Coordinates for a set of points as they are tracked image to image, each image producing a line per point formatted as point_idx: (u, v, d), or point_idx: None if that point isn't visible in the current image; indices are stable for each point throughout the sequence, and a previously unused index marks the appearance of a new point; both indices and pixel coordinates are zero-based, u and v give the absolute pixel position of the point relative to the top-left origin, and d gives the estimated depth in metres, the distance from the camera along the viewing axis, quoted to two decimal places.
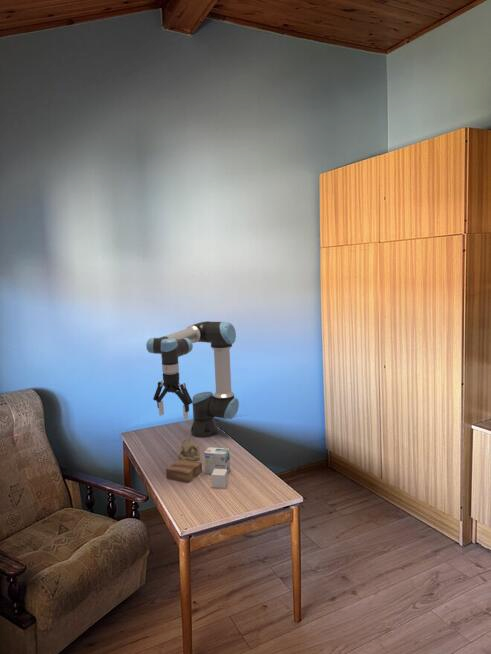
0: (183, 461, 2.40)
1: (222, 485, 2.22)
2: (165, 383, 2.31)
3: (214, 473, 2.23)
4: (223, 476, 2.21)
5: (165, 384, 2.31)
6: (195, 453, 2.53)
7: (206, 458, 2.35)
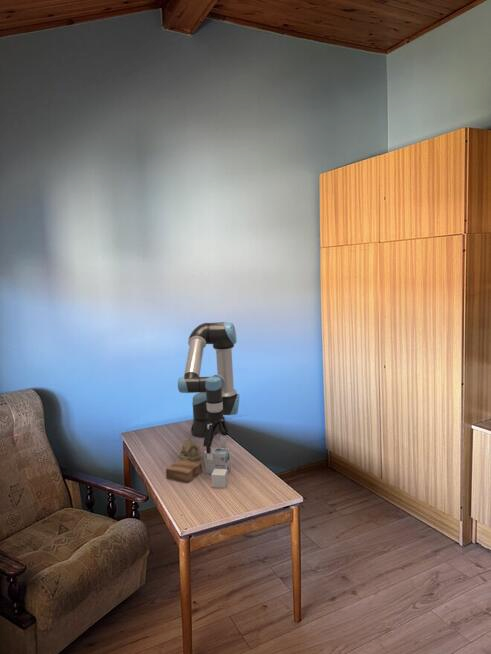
0: (184, 461, 2.40)
1: (222, 485, 2.22)
2: None
3: (214, 473, 2.23)
4: (223, 476, 2.21)
5: None
6: (196, 453, 2.53)
7: (206, 458, 2.35)
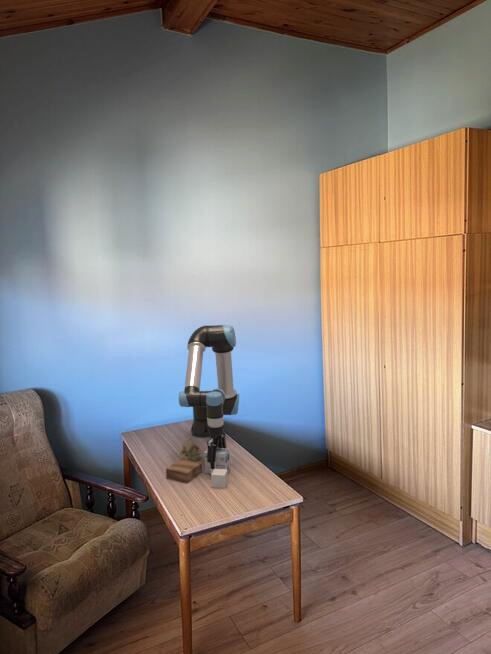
0: (184, 461, 2.40)
1: (222, 485, 2.22)
2: None
3: (214, 473, 2.23)
4: (223, 476, 2.21)
5: None
6: (197, 452, 2.53)
7: (206, 458, 2.35)
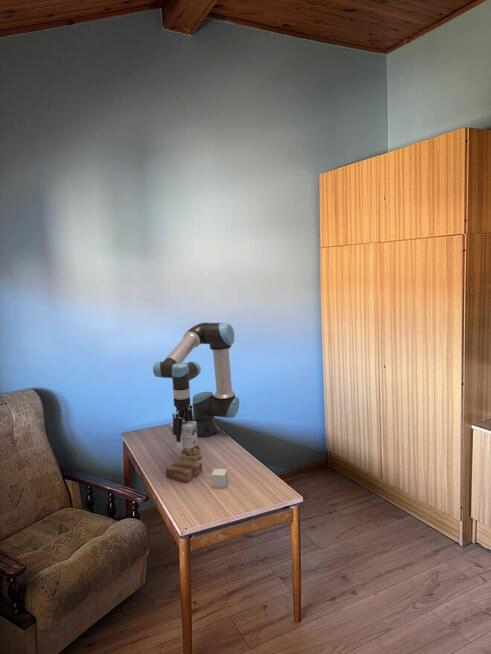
0: (184, 461, 2.40)
1: (222, 485, 2.22)
2: None
3: (214, 473, 2.23)
4: (223, 476, 2.21)
5: None
6: (197, 452, 2.54)
7: (172, 431, 2.30)
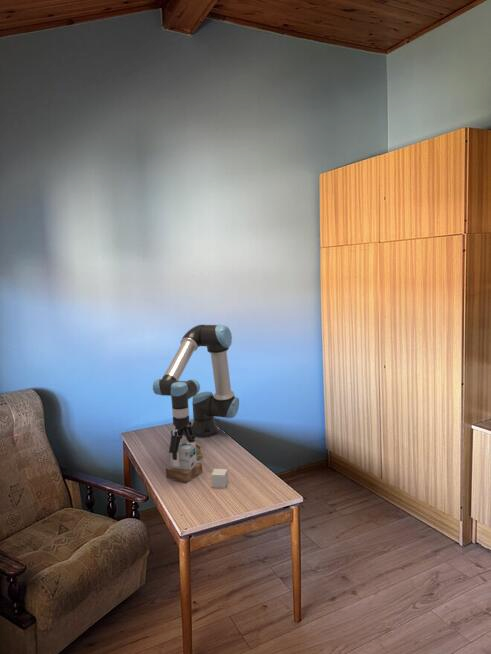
0: None
1: (222, 485, 2.22)
2: None
3: (214, 473, 2.23)
4: (223, 476, 2.21)
5: None
6: (198, 451, 2.54)
7: None
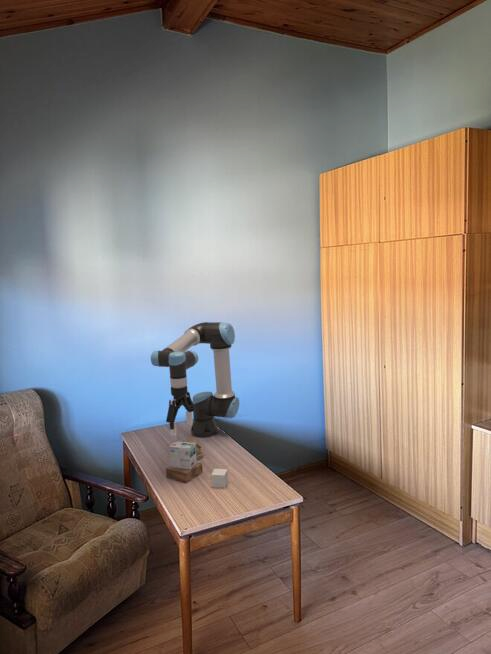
0: None
1: (222, 485, 2.22)
2: None
3: (214, 473, 2.23)
4: (223, 476, 2.21)
5: None
6: (199, 451, 2.55)
7: (171, 452, 2.32)
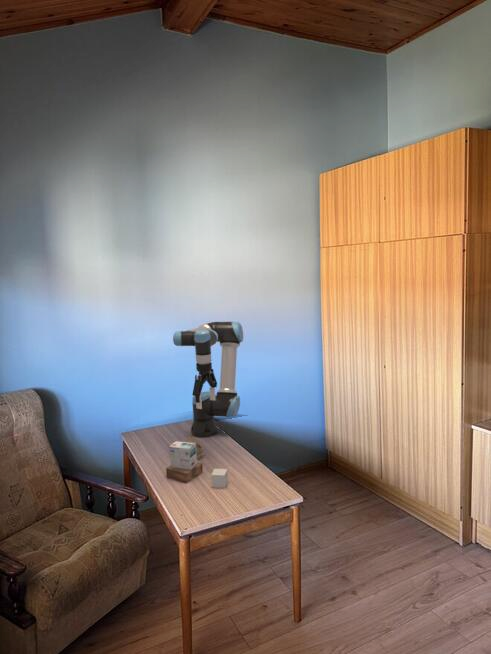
0: None
1: (222, 485, 2.22)
2: None
3: (214, 473, 2.23)
4: (223, 476, 2.21)
5: None
6: (199, 451, 2.55)
7: (171, 452, 2.32)
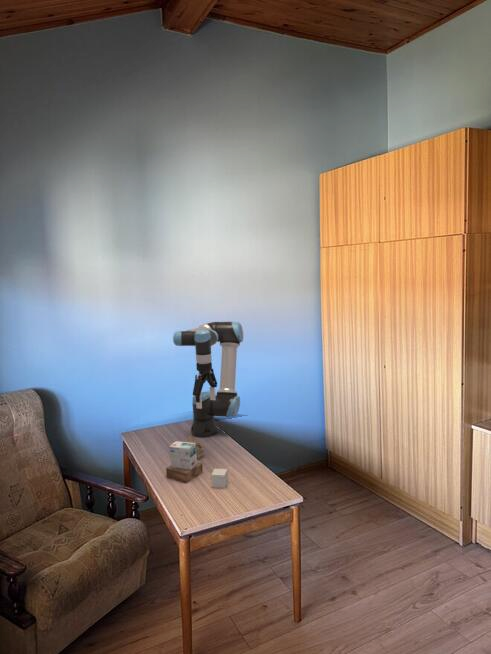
0: None
1: (222, 485, 2.22)
2: None
3: (214, 473, 2.23)
4: (223, 476, 2.21)
5: None
6: (199, 451, 2.55)
7: (171, 452, 2.32)
